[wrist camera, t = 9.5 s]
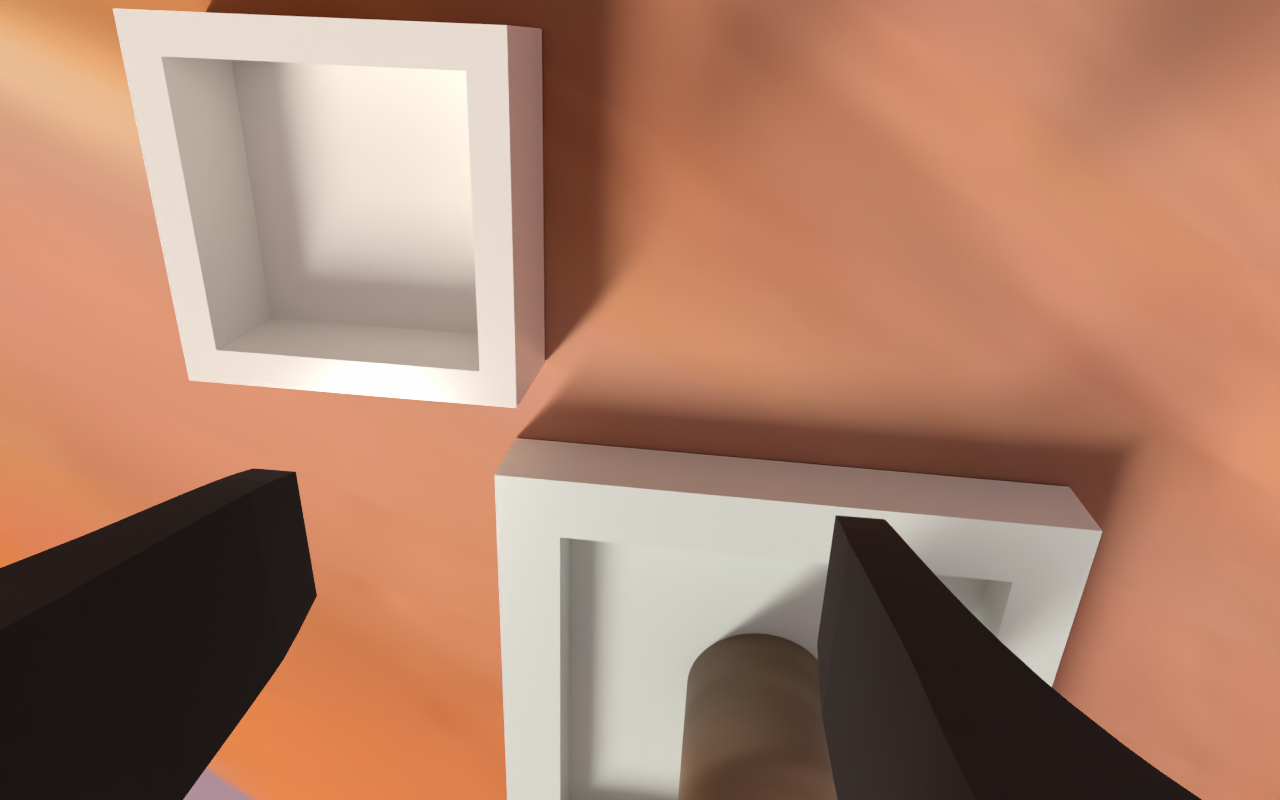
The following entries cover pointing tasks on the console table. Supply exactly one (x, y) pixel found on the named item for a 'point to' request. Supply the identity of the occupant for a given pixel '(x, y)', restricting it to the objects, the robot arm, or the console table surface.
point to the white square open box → (347, 199)
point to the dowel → (754, 724)
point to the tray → (725, 587)
